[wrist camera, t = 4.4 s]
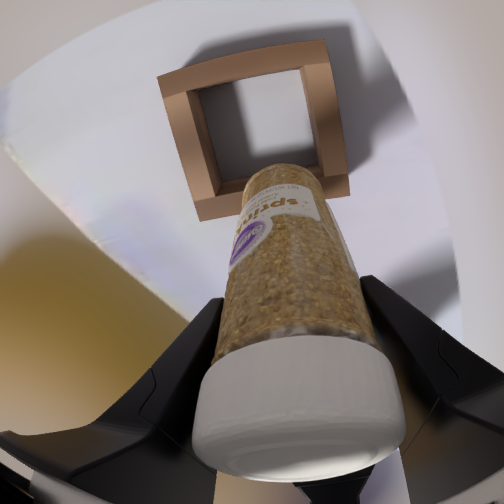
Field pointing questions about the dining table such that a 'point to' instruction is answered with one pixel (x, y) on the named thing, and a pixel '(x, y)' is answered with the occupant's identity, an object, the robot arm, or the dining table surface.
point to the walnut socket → (241, 67)
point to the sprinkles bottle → (294, 347)
